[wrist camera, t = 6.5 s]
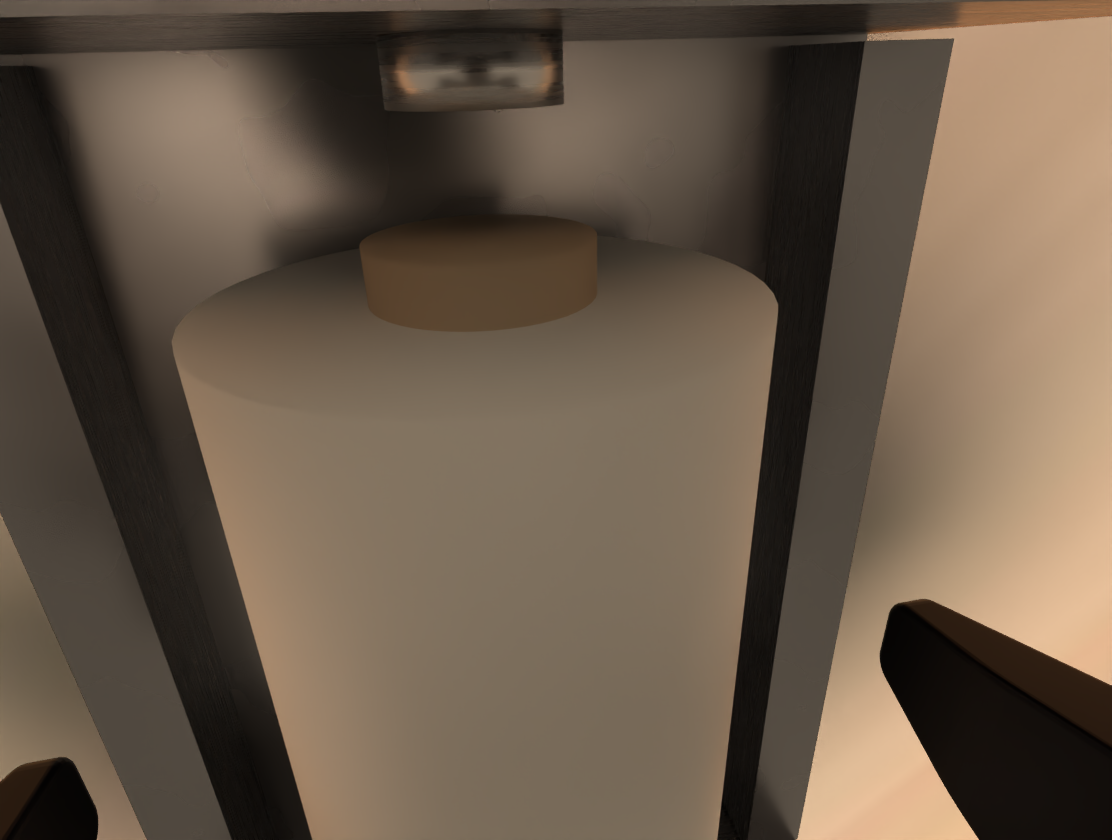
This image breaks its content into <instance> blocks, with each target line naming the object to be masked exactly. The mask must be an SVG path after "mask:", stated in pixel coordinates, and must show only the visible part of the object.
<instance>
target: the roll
mask: <svg viewBox="0 0 1112 840" xmlns="http://www.w3.org/2000/svg"><path fill="white" fill-rule="evenodd" d="M777 317H778V303H777V301H776V298H775V296H774V293H773V292H772V291H771V290H770V289H769V287H768V286H767V285H766V284H765V283H764V282H763V281H761V280H760V279H759V278H757V277H756V276H755V275H753V274H752V273H750V272H748V271H746V270H744V269H742V268H740V267H739V266H737V265H734V264H732V263H729V262H727V261H724V260H722V259H719V258H716V257H713V256H710V255H707V254H703V253H700V252H697V251H692V250H688V249H684V248H680V247H676V246H670V245H665V244H659V243H654V242H648V241H640V240H633V239H626V238H616V237H606V236H597V232H596V231H595V229H593V228H592V227H590V226H588V225H586V224H584V223H580V222H577V221H573V220H569V219H563V218H557V217H549V216H538V215H518V214H491V215H469V216H456V217H446V218H438V219H430V220H424V221H418V222H412V223H407V224H403V225H398V226H394V227H391V228H387V229H384V230H381V231H378V232H376V233H373V234H371V235H369V236H368V237H366V238H365V239H363V240H362V241H361V243H360V244H359V248H358V249H353V250H348V251H343V252H338V253H333V254H329V255H324V256H320V257H316V258H312V259H308V260H304V261H300V262H297V263H293V264H290V265H286V266H283V267H279V268H276V269H273V270H270V271H267V272H265V273H262V274H259V275H256V276H253V277H251V278H248V279H246V280H244V281H241V282H239V283H236V284H234V285H232V286H230V287H228V288H226V289H224V290H222V291H220V292H218V293H216V294H214V295H213V296H211V297H209V298H208V299H206V300H205V301H203V302H202V303H200V304H198V305H197V306H196V307H195V308H194V309H193V310H191V311H190V312H189V313H188V314H187V315H186V316H185V317H184V318H183V319H182V321H181V322H180V323H179V325H178V326H177V327H176V329H175V332H174V335H173V339H172V347H173V354H174V358H175V361H176V365H177V368H178V372H179V375H180V379H181V382H182V386H183V389H184V393H185V396H186V400H187V403H188V407H189V410H190V414H191V417H192V421H193V424H194V428H195V431H196V435H197V438H198V442H199V445H200V449H201V452H202V456H203V459H204V463H205V466H206V470H207V473H208V477H209V480H210V484H211V487H212V491H213V494H214V498H215V501H216V505H217V508H218V512H219V515H220V519H221V522H222V526H223V529H224V533H225V536H226V539H227V543H228V546H229V550H230V553H231V557H232V560H233V564H234V567H235V571H236V574H237V578H238V581H239V585H240V588H241V592H242V595H243V599H244V602H245V606H246V609H247V613H248V616H249V620H250V623H251V627H252V630H253V634H254V637H255V641H256V644H257V648H258V651H259V655H260V658H261V662H262V665H263V669H264V672H265V676H266V679H267V683H268V686H269V690H270V693H271V697H272V700H273V704H274V707H275V711H276V714H277V718H278V721H279V725H280V728H281V732H282V735H283V739H284V742H285V746H286V749H287V753H288V756H289V760H290V763H291V767H292V770H293V774H294V777H295V781H296V784H297V788H298V791H299V795H300V798H301V802H302V805H303V809H304V812H305V816H306V819H307V823H308V826H309V830H310V833H311V837H312V840H717V837H718V828H719V819H720V811H721V802H722V793H723V785H724V776H725V768H726V759H727V750H728V742H729V733H730V724H731V716H732V707H733V698H734V690H735V681H736V672H737V664H738V655H739V646H740V638H741V629H742V620H743V612H744V603H745V594H746V586H747V577H748V568H749V560H750V551H751V542H752V534H753V525H754V516H755V508H756V499H757V491H758V482H759V473H760V465H761V456H762V447H763V439H764V430H765V421H766V413H767V404H768V395H769V387H770V378H771V369H772V361H773V352H774V343H775V335H776V326H777Z"/></svg>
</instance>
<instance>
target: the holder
mask: <svg viewBox="0 0 1112 840" xmlns="http://www.w3.org/2000/svg"><path fill="white" fill-rule="evenodd" d="M1102 16H1112V0H0V513H1V515H2V517H3V519H4V522H5V524H6V526H7V528H8V531H9V533H10V535H11V537H12V539H13V542H14V544H15V546H16V548H17V551H18V553H19V555H20V557H21V560H22V562H23V564H24V566H25V568H26V571H27V573H28V575H29V577H30V580H31V582H32V584H33V586H34V589H35V591H36V593H37V595H38V598H39V600H40V602H41V604H42V606H43V609H44V611H45V613H46V615H47V618H48V620H49V622H50V624H51V627H52V629H53V631H54V633H55V635H56V638H57V640H58V642H59V644H60V647H61V649H62V651H63V653H64V656H65V658H66V660H67V662H68V665H69V667H70V669H71V671H72V673H73V676H74V678H75V680H76V682H77V685H78V687H79V689H80V691H81V694H82V696H83V698H84V700H85V702H86V705H87V707H88V709H89V711H90V714H91V716H92V718H93V720H94V723H95V725H96V727H97V729H98V732H99V734H100V736H101V738H102V740H103V743H104V745H105V747H106V749H107V752H108V754H109V756H110V758H111V761H112V763H113V765H114V767H115V769H116V772H117V774H118V776H119V778H120V781H121V783H122V785H123V787H124V790H125V792H126V794H127V796H128V799H129V801H130V803H131V805H132V807H133V810H134V812H135V814H136V816H137V819H138V821H139V823H140V825H141V828H142V830H143V832H144V834H145V836H146V839H147V840H312V837H311V833H310V830H309V826H308V823H307V819H306V816H305V812H304V809H303V805H302V802H301V798H300V795H299V791H298V788H297V784H296V781H295V777H294V774H293V770H292V767H291V763H290V760H289V756H288V753H287V749H286V746H285V742H284V739H283V735H282V732H281V728H280V725H279V721H278V718H277V714H276V711H275V707H274V704H273V700H272V697H271V693H270V690H269V686H268V683H267V679H266V676H265V672H264V669H263V665H262V662H261V658H260V655H259V651H258V648H257V644H256V641H255V637H254V634H253V630H252V627H251V623H250V620H249V616H248V613H247V609H246V606H245V602H244V599H243V595H242V592H241V588H240V585H239V581H238V578H237V574H236V571H235V567H234V564H233V560H232V557H231V553H230V550H229V546H228V543H227V539H226V536H225V533H224V529H223V526H222V522H221V519H220V515H219V512H218V508H217V505H216V501H215V498H214V494H213V491H212V487H211V484H210V480H209V477H208V473H207V470H206V466H205V463H204V459H203V456H202V452H201V449H200V445H199V442H198V438H197V435H196V431H195V428H194V424H193V421H192V417H191V414H190V410H189V407H188V403H187V400H186V396H185V393H184V389H183V386H182V382H181V379H180V375H179V372H178V368H177V365H176V361H175V358H174V354H173V347H172V339H173V335H174V332H175V329H176V327H177V326H178V325H179V323H180V322H181V321H182V319H183V318H184V317H185V316H186V315H187V314H188V313H189V312H190V311H191V310H193V309H194V308H195V307H196V306H197V305H198V304H200V303H202V302H203V301H205V300H206V299H208V298H209V297H211V296H213V295H214V294H216V293H218V292H220V291H222V290H224V289H226V288H228V287H230V286H232V285H234V284H236V283H239V282H241V281H244V280H246V279H248V278H251V277H253V276H256V275H259V274H262V273H265V272H267V271H270V270H273V269H276V268H279V267H283V266H286V265H290V264H293V263H297V262H300V261H304V260H308V259H312V258H316V257H320V256H324V255H329V254H333V253H338V252H343V251H348V250H353V249H358V248H359V244H360V243H361V241H362V240H363V239H365V238H366V237H368V236H369V235H371V234H373V233H376V232H378V231H381V230H384V229H387V228H391V227H394V226H398V225H403V224H407V223H412V222H418V221H424V220H430V219H438V218H446V217H456V216H469V215H491V214H518V215H538V216H549V217H557V218H563V219H569V220H573V221H577V222H580V223H584V224H586V225H588V226H590V227H592V228H593V229H595V231H596V232H597V236H606V237H616V238H626V239H633V240H640V241H648V242H654V243H659V244H665V245H670V246H676V247H680V248H684V249H688V250H692V251H697V252H700V253H703V254H707V255H710V256H713V257H716V258H719V259H722V260H724V261H727V262H729V263H732V264H734V265H737V266H739V267H740V268H742V269H744V270H746V271H748V272H750V273H752V274H753V275H755V276H756V277H757V278H759V279H760V280H761V281H763V282H764V283H765V284H766V285H767V286H768V287H769V289H770V290H771V291H772V292H773V293H774V296H775V298H776V301H777V303H778V317H777V326H776V335H775V343H774V352H773V361H772V369H771V378H770V387H769V395H768V404H767V413H766V421H765V430H764V439H763V447H762V456H761V465H760V473H759V482H758V491H757V499H756V508H755V516H754V525H753V534H752V542H751V551H750V560H749V568H748V577H747V586H746V594H745V603H744V612H743V620H742V629H741V638H740V646H739V655H738V664H737V672H736V681H735V690H734V698H733V707H732V716H731V724H730V733H729V742H728V750H727V759H726V768H725V776H724V785H723V793H722V802H721V811H720V819H719V828H718V837H717V840H796V839H797V838H798V833H799V828H800V823H801V817H802V812H803V807H804V802H805V797H806V792H807V787H808V782H809V777H810V771H811V766H812V761H813V756H814V751H815V746H816V741H817V736H818V731H819V726H820V720H821V715H822V710H823V705H824V700H825V695H826V690H827V685H828V680H829V674H830V669H831V664H832V659H833V654H834V649H835V644H836V639H837V634H838V629H839V623H840V618H841V613H842V608H843V603H844V598H845V593H846V588H847V583H848V577H849V572H850V567H851V562H852V557H853V552H854V547H855V542H856V537H857V531H858V526H859V521H860V516H861V511H862V506H863V501H864V496H865V491H866V486H867V480H868V475H869V470H870V465H871V460H872V455H873V450H874V445H875V440H876V434H877V429H878V424H879V419H880V414H881V409H882V404H883V399H884V394H885V389H886V383H887V378H888V373H889V368H890V363H891V358H892V353H893V348H894V343H895V337H896V332H897V327H898V322H899V317H900V312H901V307H902V302H903V297H904V292H905V286H906V281H907V276H908V271H909V266H910V261H911V256H912V251H913V246H914V240H915V235H916V230H917V225H918V220H919V215H920V210H921V205H922V200H923V194H924V189H925V184H926V179H927V174H928V169H929V164H930V159H931V154H932V149H933V143H934V138H935V133H936V128H937V123H938V118H939V113H940V108H941V103H942V97H943V92H944V87H945V82H946V77H947V72H948V67H949V62H950V57H951V52H952V46H953V41H954V39H924V40H886V41H866V40H867V34H875V33H889V32H902V31H915V30H929V29H942V28H955V27H969V26H982V25H996V24H1009V23H1022V22H1036V21H1049V20H1062V19H1076V18H1089V17H1102Z"/></svg>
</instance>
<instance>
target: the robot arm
mask: <svg viewBox="0 0 1112 840" xmlns="http://www.w3.org/2000/svg"><path fill="white" fill-rule="evenodd" d="M880 663H881V668H882V671H883V673H884V676H885V678H886V680H887V681H888V683H889V685H890V687H891V689H892V691H893V693H894V694H895V696H896V698H897V700H898V702H899V704H900V705H901V707H902V709H903V711H904V713H905V715H906V716H907V718H908V720H909V722H910V724H911V726H912V727H913V729H914V731H915V733H916V735H917V737H918V739H919V740H920V742H921V744H922V746H923V748H924V750H925V751H926V753H927V755H928V757H929V759H930V761H931V762H932V764H933V766H934V768H935V770H936V772H937V773H938V775H939V777H940V779H941V780H942V782H943V784H944V786H945V787H946V789H947V791H948V792H949V794H950V796H951V797H952V799H953V801H954V802H955V804H956V805H957V807H958V808H959V810H960V812H961V813H962V815H963V816H964V818H965V819H966V821H967V822H968V824H969V825H970V827H971V828H972V830H973V831H974V833H975V834H976V836H977V837H978V839H979V840H1112V685H1109V684H1107V683H1105V682H1103V681H1101V680H1099V679H1097V678H1095V677H1092V676H1090V675H1088V674H1086V673H1084V672H1082V671H1080V670H1078V669H1076V668H1073V667H1071V666H1069V665H1067V664H1065V663H1063V662H1061V661H1059V660H1057V659H1054V658H1052V657H1050V656H1048V655H1046V654H1044V653H1042V652H1040V651H1037V650H1035V649H1033V648H1031V647H1029V646H1027V645H1025V644H1023V643H1021V642H1018V641H1016V640H1014V639H1012V638H1010V637H1008V636H1006V635H1004V634H1002V633H999V632H997V631H995V630H993V629H991V628H989V627H987V626H985V625H983V624H980V623H978V622H976V621H974V620H972V619H970V618H968V617H966V616H963V615H961V614H959V613H957V612H955V611H953V610H951V609H949V608H947V607H944V606H942V605H940V604H938V603H936V602H934V601H931V600H927V599H919V600H913V601H908V602H903V603H898V604H896V605H894V606H893V607H892V609H891V610H890V612H889V616H888V620H887V624H886V629H885V633H884V637H883V642H882V646H881V650H880ZM97 834H98V815H97V810H96V807H95V805H94V803H93V801H92V799H91V796H90V794H89V792H88V790H87V788H86V786H85V784H84V782H83V780H82V778H81V776H80V774H79V772H78V770H77V768H76V766H75V764H74V763H73V761H71V760H70V759H68V758H66V757H58V758H53V759H47V760H42V761H37V762H31V763H26V764H23V765H21V766H19V767H17V768H16V769H14V770H13V771H12V772H11V773H9V774H8V775H7V776H6V777H5V778H4V779H3V780H2V781H1V782H0V840H96V839H97Z"/></svg>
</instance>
